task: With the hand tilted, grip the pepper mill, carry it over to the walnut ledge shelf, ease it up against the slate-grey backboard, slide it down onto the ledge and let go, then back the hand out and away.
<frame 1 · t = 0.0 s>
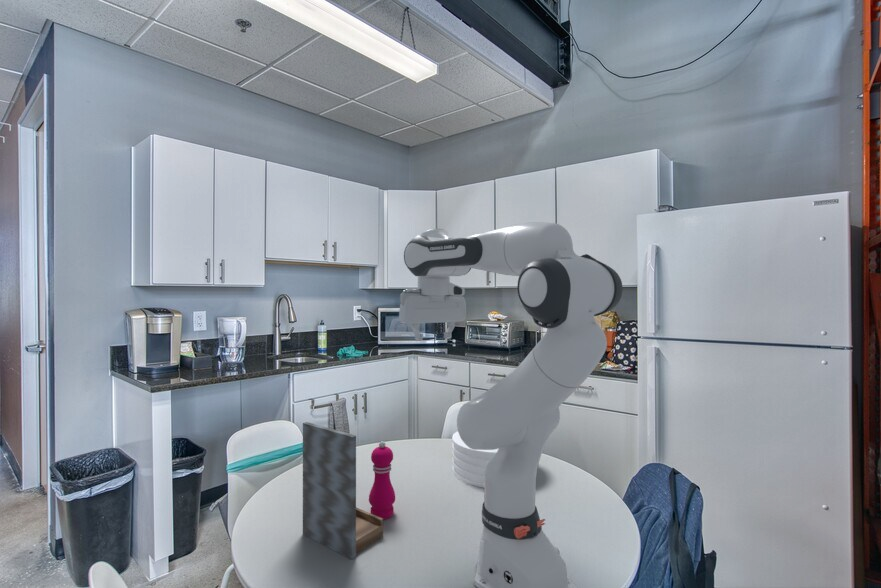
hand: (433, 339, 123), 48 cm above the table, tool pointing down, fingers open, 8 cm apart
pepper mill: (382, 514, 122), on the table
plate stack: (493, 471, 153), on the table
ledge shelf: (345, 534, 112), on the table
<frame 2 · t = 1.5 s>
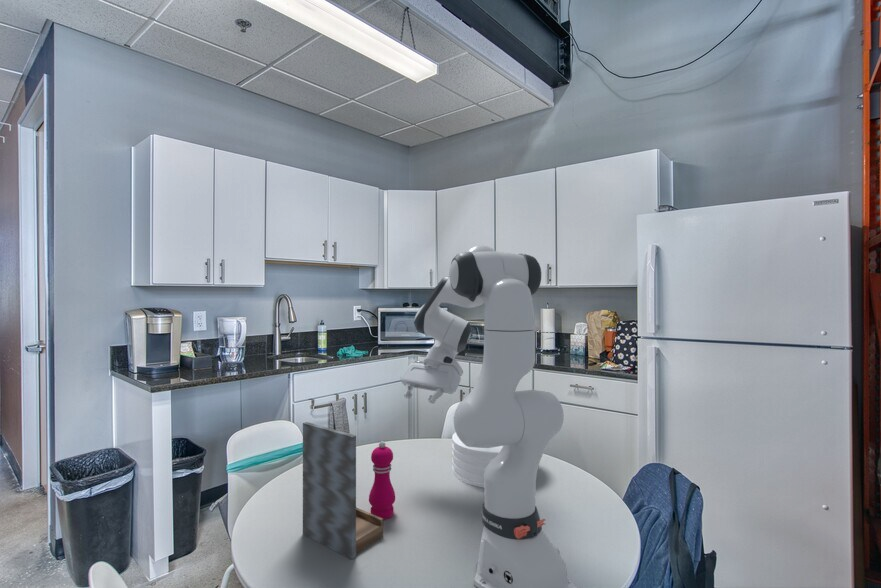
hand: (418, 399, 135), 28 cm above the table, tool tilted 45°, fingers open, 8 cm apart
nothing on the table moved.
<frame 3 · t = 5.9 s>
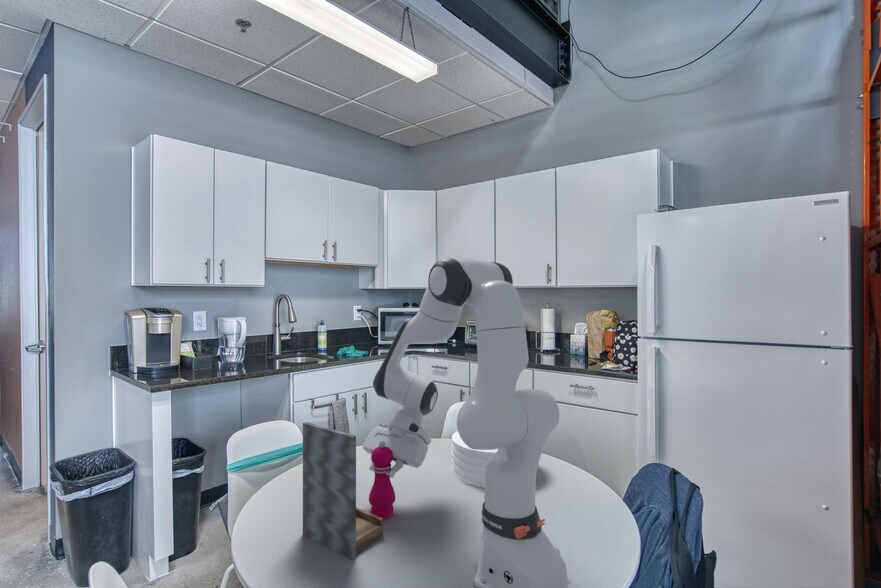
hand: (380, 473, 122), 11 cm above the table, tool tilted 45°, fingers closed on pepper mill, 5 cm apart
pepper mill: (382, 514, 123), on the table, touching gripper
everything else where it was.
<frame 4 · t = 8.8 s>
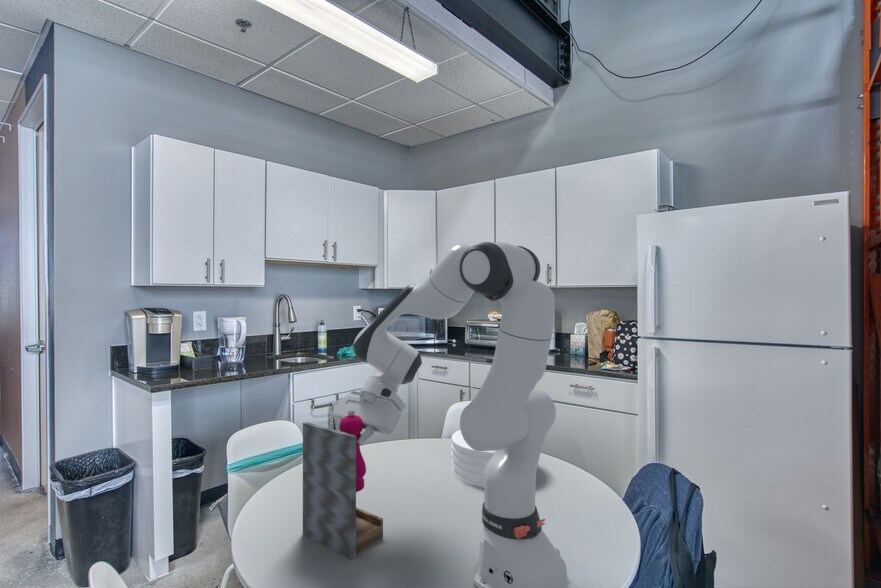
hand: (349, 441, 113), 23 cm above the table, tool tilted 45°, fingers closed on pepper mill, 5 cm apart
pepper mill: (351, 488, 113), point 11 cm above the table, touching gripper
everything else where it was.
when the fingers open (16 cm above the table, at t = 11.7 s): pepper mill stays where it is, resting on ledge shelf.
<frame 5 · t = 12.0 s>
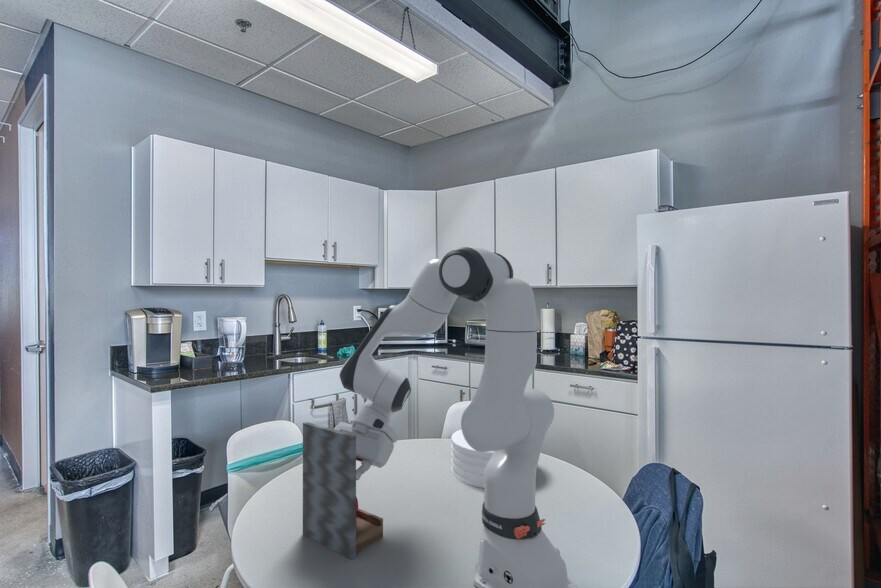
hand: (341, 473, 111), 16 cm above the table, tool tilted 45°, fingers open, 8 cm apart
pepper mill: (343, 525, 111), point 3 cm above the table, touching ledge shelf
everything else where it was.
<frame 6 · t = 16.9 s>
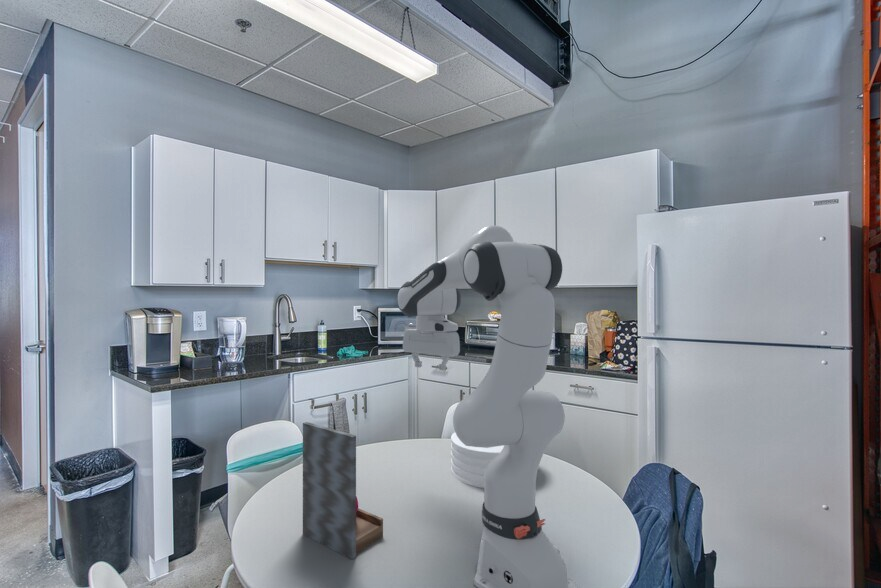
hand: (430, 368, 139), 37 cm above the table, tool pointing down, fingers open, 8 cm apart
nothing on the table moved.
at the end: pepper mill inside the target area on the ledge shelf (0.2 cm from its centre), point 2.8 cm above the ledge shelf's base; pepper mill tilted 0°; the gripper is holding nothing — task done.
